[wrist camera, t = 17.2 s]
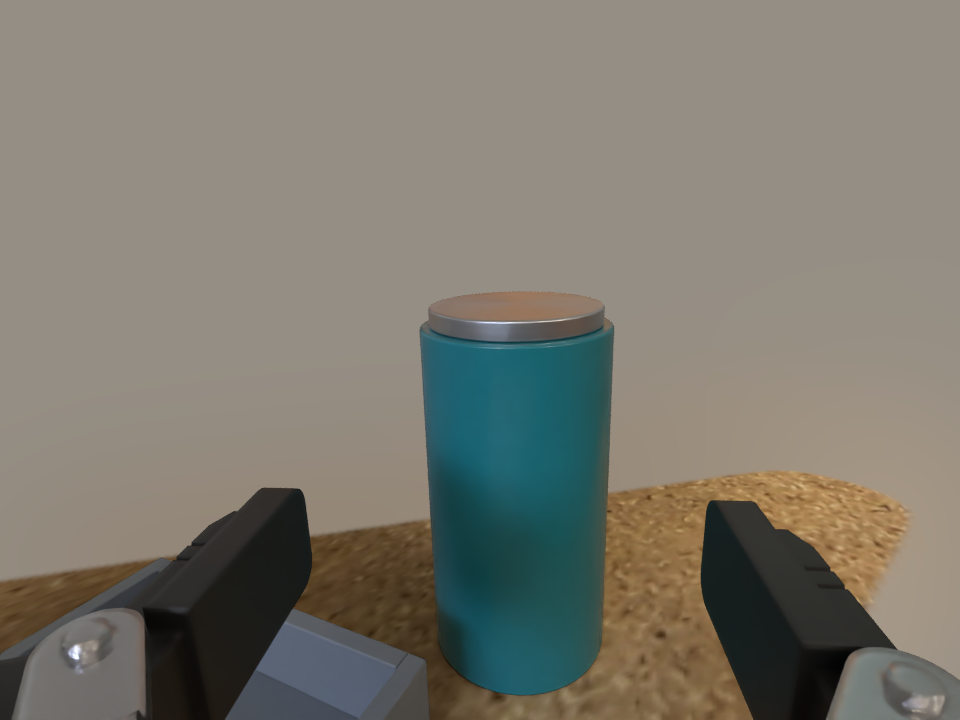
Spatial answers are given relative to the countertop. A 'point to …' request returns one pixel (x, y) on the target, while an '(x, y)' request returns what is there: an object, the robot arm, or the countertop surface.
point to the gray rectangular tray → (298, 667)
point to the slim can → (518, 483)
